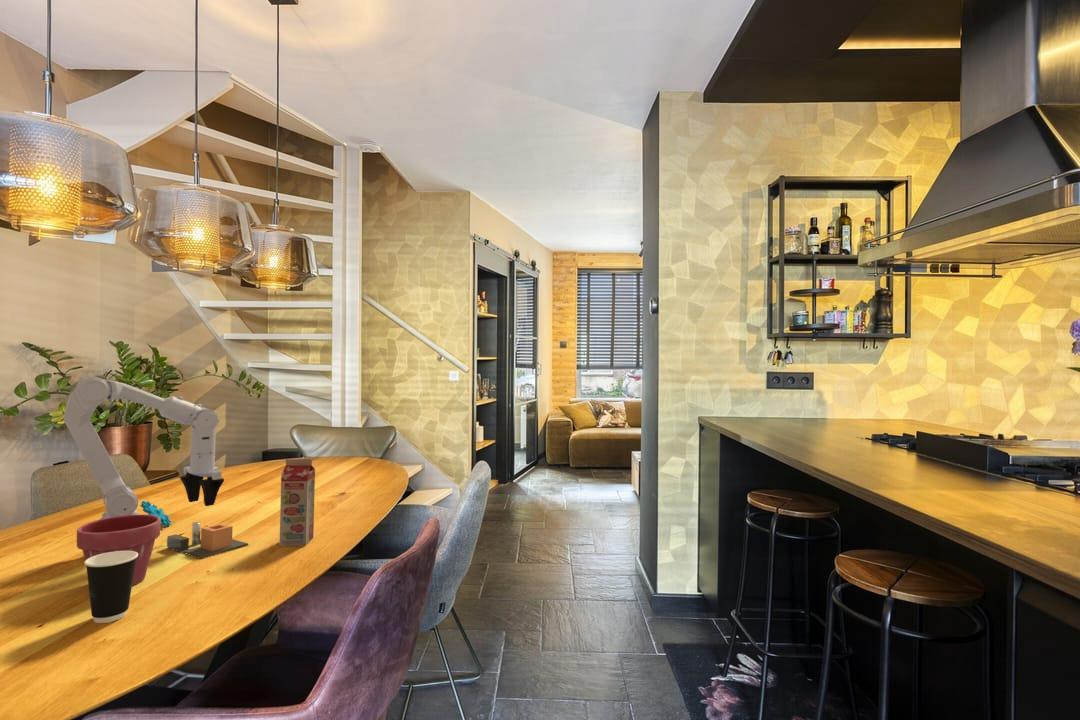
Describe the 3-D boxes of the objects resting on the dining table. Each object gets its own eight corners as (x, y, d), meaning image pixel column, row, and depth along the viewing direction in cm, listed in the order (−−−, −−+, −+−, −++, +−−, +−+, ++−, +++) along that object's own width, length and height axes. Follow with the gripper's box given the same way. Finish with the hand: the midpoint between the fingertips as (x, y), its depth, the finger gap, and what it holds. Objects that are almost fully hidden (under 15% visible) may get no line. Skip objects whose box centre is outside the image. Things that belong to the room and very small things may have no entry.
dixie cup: (70, 624, 99) (72, 563, 100) (111, 606, 107) (113, 549, 107) (108, 629, 98) (110, 566, 98) (147, 610, 106) (148, 552, 106)
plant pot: (62, 600, 110) (64, 535, 110) (90, 575, 123) (91, 516, 123) (148, 590, 115) (150, 528, 115) (166, 567, 128) (167, 511, 128)
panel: (201, 558, 134) (201, 556, 134) (182, 552, 138) (182, 550, 138) (248, 545, 145) (248, 543, 145) (229, 540, 148) (229, 538, 148)
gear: (167, 524, 156) (139, 500, 155) (148, 541, 154) (120, 517, 153) (178, 520, 166) (152, 497, 165) (161, 535, 164) (135, 512, 163)
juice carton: (287, 538, 151) (290, 457, 152) (313, 537, 152) (315, 457, 152) (279, 545, 145) (281, 461, 145) (305, 545, 145) (308, 461, 146)
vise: (180, 552, 138) (180, 530, 139) (166, 548, 141) (167, 526, 141) (230, 538, 150) (231, 518, 150) (217, 535, 153) (217, 515, 153)
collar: (212, 551, 138) (213, 531, 138) (200, 547, 140) (201, 528, 140) (231, 545, 142) (232, 526, 142) (220, 542, 145) (220, 523, 145)
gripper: (233, 453, 150) (231, 504, 150) (202, 448, 157) (201, 496, 157) (206, 456, 144) (205, 509, 144) (176, 451, 151) (174, 501, 151)
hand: (201, 503), depth 150 cm, fingers open, 7 cm apart
